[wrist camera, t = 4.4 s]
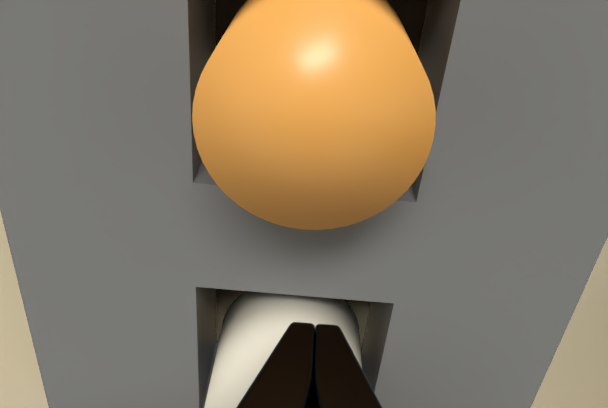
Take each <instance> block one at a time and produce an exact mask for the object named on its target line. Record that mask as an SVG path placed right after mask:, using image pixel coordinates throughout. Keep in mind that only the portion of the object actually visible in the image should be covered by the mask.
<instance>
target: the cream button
mask: <svg viewBox="0 0 608 408" xmlns="http://www.w3.org/2000/svg"><path fill="white" fill-rule="evenodd" d="M293 322H302V323H312V324H314V326H315V327H316V325H317V324H329V325H337V326H339V327H340V328H341V330H342V332H343V334H344V336H345V338H346V339H347V341H348V343H349V345H350V347H351V349H352V351H353V353H354V355H355V357H356V358H357V360H358V362H359V364H360V366H361V368H362V363H361V349H360V335H359V325H358V321H357V318H356V316H355V314H354V312H353V310H352V309H351V307H350V306H349V305H348V304H347V303H346V302H345V300H343V299H334V298H323V297H311V296H299V295H287V294H275V293H263V292H251V291H245V292H244V293H242V294H241V295H240V296H238V297H237V298H236V299H235V300H234V301H233V302H232V304H231V305H230V307H229V308H228V310H227V312H226V314H225V317H224V321H223V325H222V330H221V334H220V339H219V343H218V348H217V352H216V357H215V361H214V366H213V370H212V375H211V379H210V384H209V388H208V393H207V397H206V402H205V406H204V408H236V407H237V406H238V404H239V403H240V401H241V400H242V398H243V397H244V395H245V393H246V392H247V390H248V389H249V387H250V386H251V384H252V383H253V381H254V379H255V378H256V376H257V375H258V373H259V372H260V370H261V369H262V367H263V365H264V364H265V362H266V361H267V359H268V358H269V356H270V355H271V353H272V351H273V350H274V348H275V347H276V345H277V344H278V342H279V341H280V339H281V337H282V336H283V334H284V333H285V331H286V330H287V328H288V327H289V325H290V324H291V323H293Z"/></svg>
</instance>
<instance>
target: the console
mask: <svg viewBox="0 0 608 408" xmlns="http://www.w3.org/2000/svg"><path fill="white" fill-rule="evenodd" d="M214 50H215V0H0V210H1V214H2V218H3V222H4V227H5V231H6V235H7V239H8V243H9V247H10V251H11V255H12V259H13V263H14V267H15V271H16V275H17V279H18V284H19V288H20V292H21V296H22V300H23V304H24V308H25V312H26V316H27V320H28V324H29V328H30V332H31V336H32V341H33V345H34V349H35V353H36V357H37V361H38V365H39V369H40V373H41V377H42V381H43V385H44V389H45V393H46V398H47V402H48V406H49V408H204V406H205V402H206V397H207V393H208V388H209V384H210V379H211V375H212V370H213V366H214V361H215V357H216V352H217V348H218V343H219V342H216V289H227V290H239V291H251V292H263V293H275V294H287V295H299V296H311V297H323V298H334V299H346V300H358V301H370V302H371V303H370V308H369V313H368V318H367V324H366V329H365V334H364V339H363V345H362V350H361V363H362V370H363V372H364V374H365V376H366V378H367V379H368V381H369V383H370V385H371V387H372V389H373V391H374V393H375V395H376V397H377V399H378V400H379V402H380V404H381V406H382V408H530V407H531V405H532V403H533V401H534V398H535V396H536V394H537V392H538V390H539V387H540V385H541V383H542V381H543V378H544V376H545V374H546V372H547V370H548V367H549V365H550V363H551V361H552V358H553V356H554V354H555V352H556V350H557V347H558V345H559V343H560V341H561V339H562V336H563V334H564V332H565V330H566V327H567V325H568V323H569V321H570V319H571V316H572V314H573V312H574V310H575V307H576V305H577V303H578V301H579V299H580V296H581V294H582V292H583V290H584V287H585V285H586V283H587V281H588V279H589V276H590V274H591V272H592V270H593V267H594V265H595V263H596V261H597V259H598V256H599V254H600V252H601V250H602V247H603V245H604V243H605V241H606V239H607V236H608V0H428V3H427V9H426V14H425V19H424V24H423V30H422V35H421V40H420V45H419V51H418V58H419V60H420V62H421V64H422V66H423V68H424V70H425V72H426V75H427V77H428V79H429V81H430V85H431V88H432V92H433V95H434V102H435V110H436V126H435V132H434V139H433V143H432V146H431V150H430V153H429V156H428V158H427V160H426V162H425V165H424V167H423V169H422V170H421V172H420V174H419V175H418V177H417V178H416V180H415V181H414V182H413V184H412V185H411V186H410V187H409V188H408V190H407V191H406V192H405V193H404V194H403V195H402V196H401V197H400V198H399V199H398V200H396V201H395V202H394V203H393V204H391V205H390V206H389V207H387V208H386V209H384V210H383V211H381V212H379V213H378V214H376V215H374V216H372V217H370V218H368V219H365V220H363V221H361V222H358V223H355V224H352V225H348V226H345V227H339V228H334V229H324V230H303V229H296V228H289V227H285V226H281V225H277V224H274V223H271V222H269V221H266V220H263V219H261V218H259V217H257V216H255V215H253V214H251V213H249V212H248V211H246V210H245V209H243V208H242V207H240V206H239V205H237V204H236V203H235V202H234V201H233V200H231V199H230V198H229V197H228V196H227V195H226V194H225V193H224V192H223V191H222V190H221V189H220V188H219V187H218V186H217V184H216V183H215V181H214V180H213V179H212V177H211V176H210V174H209V173H208V171H207V169H206V167H205V166H204V164H203V162H202V160H201V157H200V154H199V152H198V149H197V146H196V142H195V137H194V133H193V122H192V112H193V101H194V96H195V90H196V87H197V84H198V81H199V78H200V75H201V73H202V71H203V69H204V67H205V65H206V63H207V61H208V60H209V58H210V56H211V55H212V53H213V51H214Z"/></svg>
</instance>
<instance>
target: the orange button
mask: <svg viewBox="0 0 608 408" xmlns="http://www.w3.org/2000/svg"><path fill="white" fill-rule="evenodd" d="M192 122H193V133H194V137H195V142H196V146H197V149H198V152H199V154H200V157H201V160H202V162H203V164H204V166H205V167H206V169H207V171H208V173H209V174H210V176H211V177H212V179H213V180H214V181H215V183H216V184H217V186H218V187H219V188H220V189H221V190H222V191H223V192H224V193H225V194H226V195H227V196H228V197H229V198H230V199H231V200H233V201H234V202H235V203H236V204H237V205H239V206H240V207H242V208H243V209H245V210H246V211H248V212H249V213H251V214H253V215H255V216H257V217H259V218H261V219H263V220H266V221H269V222H271V223H274V224H277V225H281V226H285V227H289V228H296V229H303V230H324V229H334V228H339V227H345V226H348V225H352V224H355V223H358V222H361V221H363V220H365V219H368V218H370V217H372V216H374V215H376V214H378V213H379V212H381V211H383V210H384V209H386V208H387V207H389V206H390V205H391V204H393V203H394V202H395V201H396V200H398V199H399V198H400V197H401V196H402V195H403V194H404V193H405V192H406V191H407V190H408V188H409V187H410V186H411V185H412V184H413V182H414V181H415V180H416V178H417V177H418V175H419V174H420V172H421V170H422V169H423V167H424V165H425V162H426V160H427V158H428V156H429V153H430V150H431V146H432V143H433V139H434V132H435V126H436V110H435V102H434V95H433V92H432V88H431V85H430V81H429V79H428V77H427V75H426V72H425V70H424V68H423V66H422V64H421V62H420V60H419V58H418V56H417V53H416V51H415V49H414V47H413V45H412V43H411V41H410V39H409V37H408V35H407V33H406V31H405V29H404V27H403V25H402V23H401V21H400V19H399V17H398V15H397V13H396V12H395V10H394V8H393V7H392V5H391V4H390V3H389V2H388V0H245V2H244V3H243V4H242V6H241V7H240V9H239V10H238V12H237V13H236V15H235V17H234V18H233V20H232V21H231V23H230V25H229V26H228V28H227V30H226V31H225V33H224V35H223V36H222V38H221V40H220V41H219V43H218V45H217V46H216V48H215V50H214V51H213V53H212V55H211V56H210V58H209V60H208V61H207V63H206V65H205V67H204V69H203V71H202V73H201V75H200V78H199V81H198V84H197V87H196V90H195V96H194V101H193V112H192Z"/></svg>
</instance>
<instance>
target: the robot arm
mask: <svg viewBox="0 0 608 408" xmlns="http://www.w3.org/2000/svg"><path fill="white" fill-rule="evenodd" d="M236 408H382V406H381V404H380V402H379V400H378V399H377V397H376V395H375V393H374V391H373V389H372V387H371V385H370V383H369V381H368V379H367V378H366V376H365V374H364V372H363V370H362V368H361V366H360V364H359V362H358V360H357V358H356V357H355V355H354V353H353V351H352V349H351V347H350V345H349V343H348V341H347V339H346V338H345V336H344V334H343V332H342V330H341V328H340V327H339V326H337V325H329V324H317V325H316V327H315V326H314V324H312V323H302V322H293V323H291V324H290V325H289V327H288V328H287V330H286V331H285V333H284V334H283V336H282V337H281V339H280V341H279V342H278V344H277V345H276V347H275V348H274V350H273V351H272V353H271V355H270V356H269V358H268V359H267V361H266V362H265V364H264V365H263V367H262V369H261V370H260V372H259V373H258V375H257V376H256V378H255V379H254V381H253V383H252V384H251V386H250V387H249V389H248V390H247V392H246V393H245V395H244V397H243V398H242V400H241V401H240V403H239V404H238V406H237V407H236Z"/></svg>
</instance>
